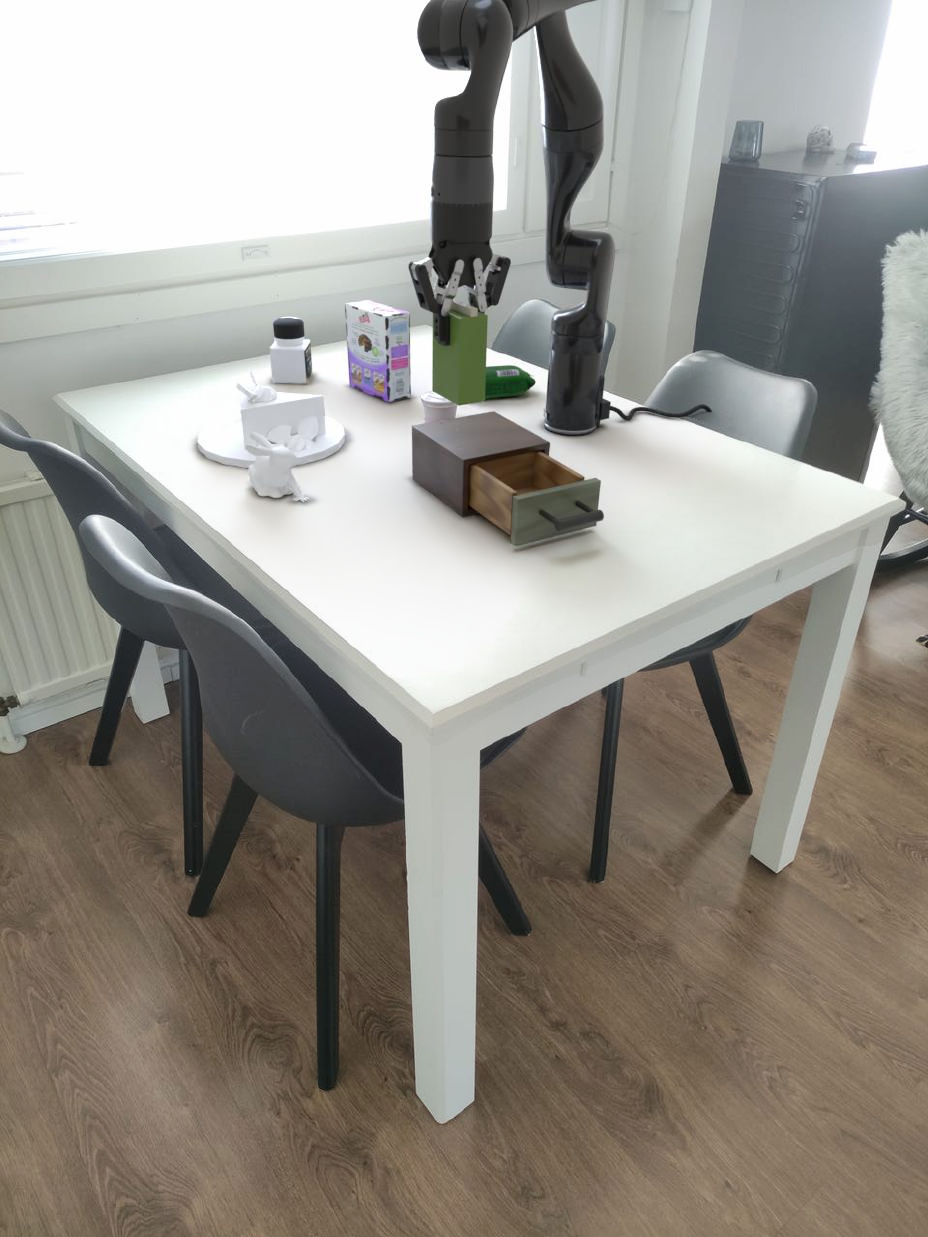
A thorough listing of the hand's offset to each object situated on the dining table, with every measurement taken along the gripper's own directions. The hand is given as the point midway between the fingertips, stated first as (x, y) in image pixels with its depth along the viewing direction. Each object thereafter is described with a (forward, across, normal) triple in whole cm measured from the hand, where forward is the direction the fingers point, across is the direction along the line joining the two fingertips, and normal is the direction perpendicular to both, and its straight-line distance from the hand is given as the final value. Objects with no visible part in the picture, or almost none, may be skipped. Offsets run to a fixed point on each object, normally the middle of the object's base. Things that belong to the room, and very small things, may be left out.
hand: (459, 341), depth 118 cm
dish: (+26, -11, +43) cm, 52 cm away
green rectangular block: (+7, 0, 0) cm, 7 cm away
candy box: (+25, +17, +59) cm, 66 cm away
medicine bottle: (+25, +5, +75) cm, 79 cm away
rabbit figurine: (+26, -20, +22) cm, 39 cm away
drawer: (+25, +9, -8) cm, 27 cm away
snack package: (+25, +37, +46) cm, 65 cm away
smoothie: (+26, +12, +25) cm, 38 cm away
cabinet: (+26, +9, +9) cm, 29 cm away
